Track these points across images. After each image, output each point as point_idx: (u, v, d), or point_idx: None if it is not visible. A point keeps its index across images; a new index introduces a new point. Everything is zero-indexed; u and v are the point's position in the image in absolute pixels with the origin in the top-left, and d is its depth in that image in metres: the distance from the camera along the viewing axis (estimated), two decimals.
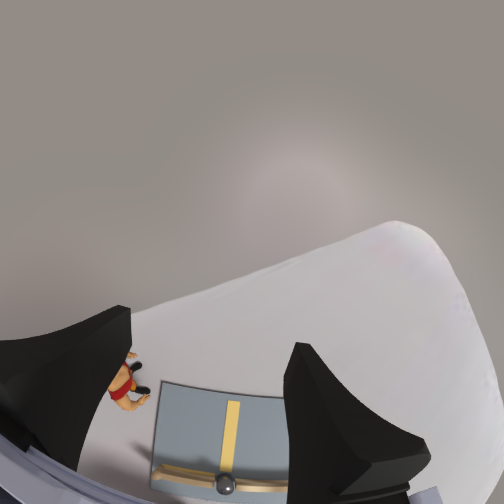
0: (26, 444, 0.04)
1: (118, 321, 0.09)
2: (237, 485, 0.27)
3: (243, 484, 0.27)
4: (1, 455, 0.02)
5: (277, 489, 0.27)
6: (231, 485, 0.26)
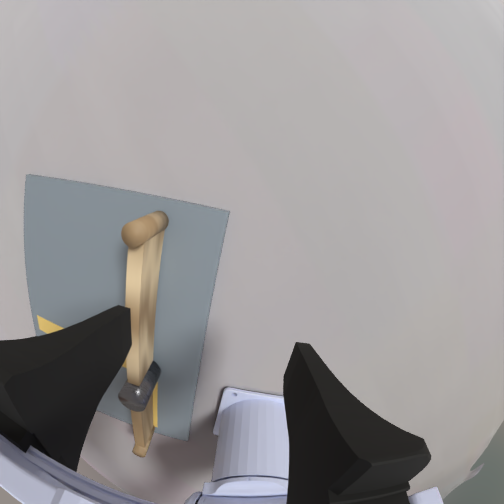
0: (26, 444, 0.04)
1: (118, 321, 0.09)
2: None
3: None
4: (1, 455, 0.02)
5: (131, 325, 0.16)
6: (123, 393, 0.17)
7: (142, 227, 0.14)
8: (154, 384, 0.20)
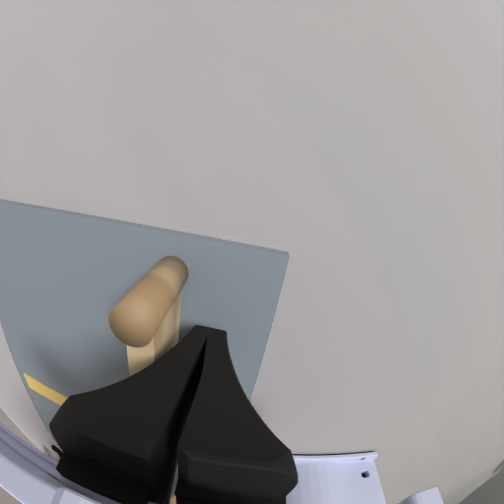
0: (147, 502, 0.04)
1: (205, 344, 0.09)
2: None
3: None
4: (1, 455, 0.02)
5: None
6: None
7: (147, 315, 0.07)
8: None
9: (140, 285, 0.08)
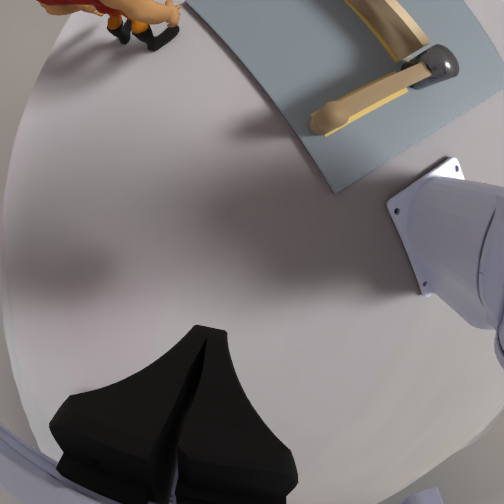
0: (147, 502, 0.04)
1: (205, 344, 0.09)
2: (421, 44, 0.11)
3: (409, 36, 0.11)
4: (1, 455, 0.02)
5: None
6: (446, 49, 0.10)
7: None
8: (436, 82, 0.13)
9: None
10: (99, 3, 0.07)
